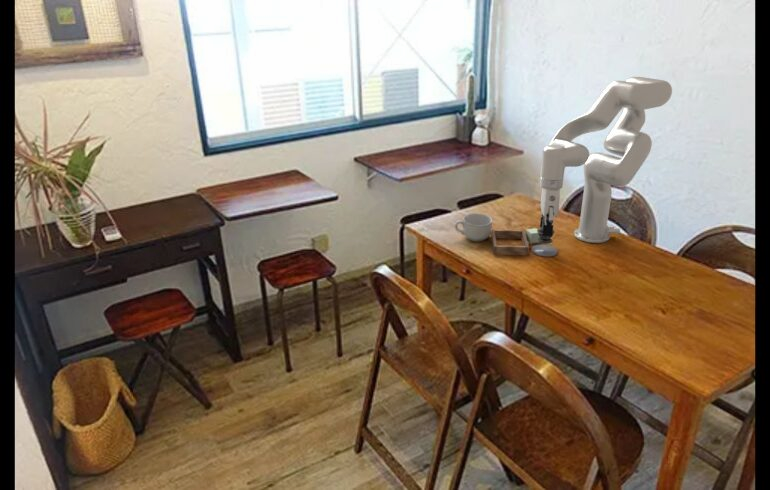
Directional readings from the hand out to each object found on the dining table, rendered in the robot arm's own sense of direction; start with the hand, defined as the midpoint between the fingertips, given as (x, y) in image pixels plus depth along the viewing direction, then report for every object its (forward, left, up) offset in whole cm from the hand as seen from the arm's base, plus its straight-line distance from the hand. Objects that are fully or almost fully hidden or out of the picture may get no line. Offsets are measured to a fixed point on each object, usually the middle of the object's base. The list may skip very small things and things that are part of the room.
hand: (545, 231), depth 199 cm
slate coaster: (0, 0, -8) cm, 8 cm away
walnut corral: (+12, -4, -8) cm, 15 cm away
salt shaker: (0, 0, -4) cm, 4 cm away
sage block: (+3, -9, -8) cm, 12 cm away
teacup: (+25, -10, -8) cm, 28 cm away
